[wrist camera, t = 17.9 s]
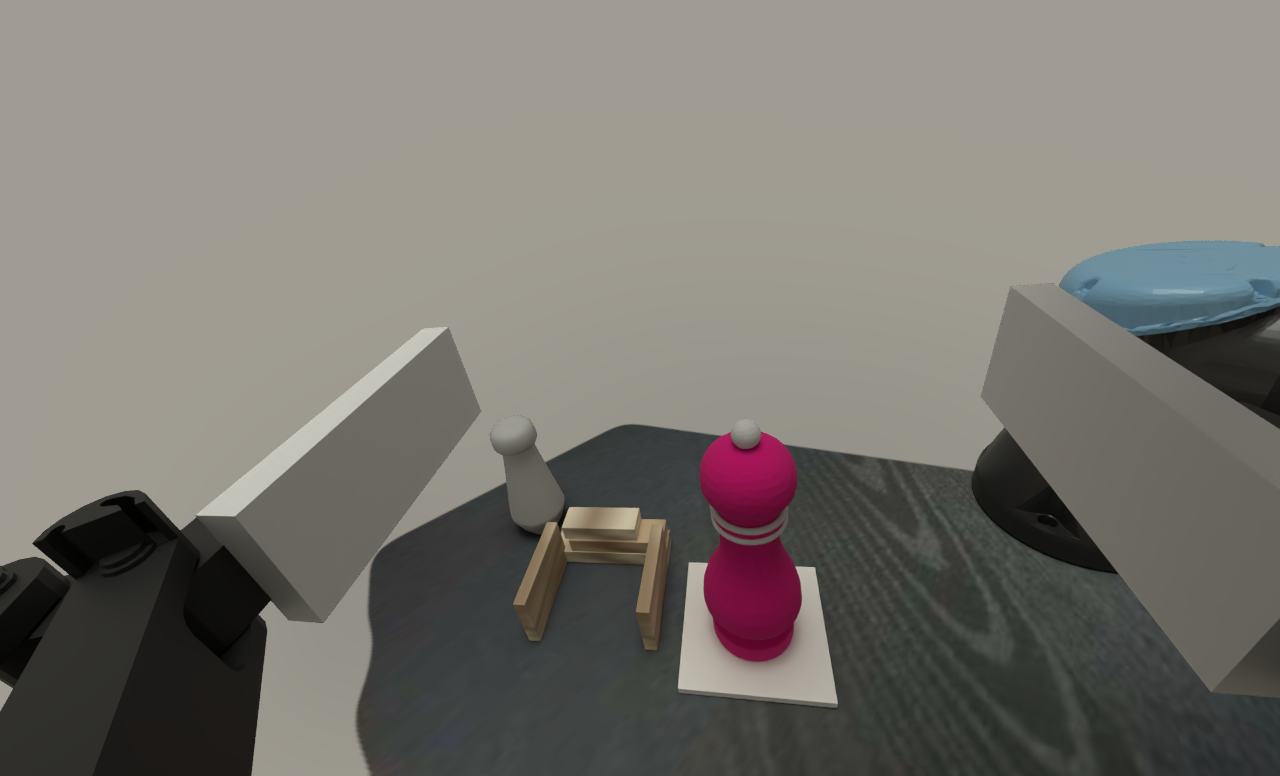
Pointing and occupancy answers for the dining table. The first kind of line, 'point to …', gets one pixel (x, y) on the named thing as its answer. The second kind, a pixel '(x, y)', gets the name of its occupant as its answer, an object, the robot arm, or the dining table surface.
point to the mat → (780, 679)
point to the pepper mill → (750, 542)
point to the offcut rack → (597, 542)
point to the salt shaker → (527, 475)
